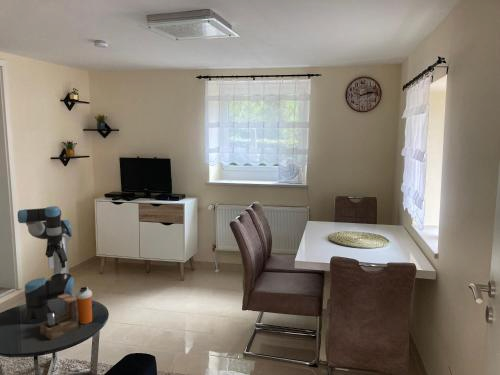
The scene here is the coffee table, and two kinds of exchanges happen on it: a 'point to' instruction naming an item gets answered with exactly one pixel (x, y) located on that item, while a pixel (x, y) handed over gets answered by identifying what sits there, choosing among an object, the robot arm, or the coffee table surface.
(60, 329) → the socket block
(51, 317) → the peg
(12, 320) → the coffee table surface
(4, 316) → the coffee table surface
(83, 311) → the shaker bottle
